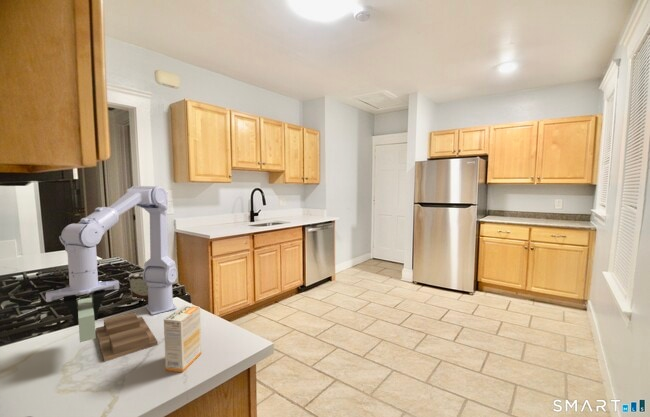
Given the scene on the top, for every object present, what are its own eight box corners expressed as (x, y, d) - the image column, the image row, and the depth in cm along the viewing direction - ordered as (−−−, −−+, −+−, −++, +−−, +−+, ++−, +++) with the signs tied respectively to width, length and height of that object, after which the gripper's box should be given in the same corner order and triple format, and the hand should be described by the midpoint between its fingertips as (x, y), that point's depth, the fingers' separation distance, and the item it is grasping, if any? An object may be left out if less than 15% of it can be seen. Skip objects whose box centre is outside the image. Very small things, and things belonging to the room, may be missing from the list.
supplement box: (185, 351, 80) (184, 304, 79) (202, 353, 79) (201, 306, 78) (164, 370, 72) (162, 318, 70) (182, 373, 71) (181, 320, 70)
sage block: (79, 320, 82) (77, 299, 81) (92, 317, 84) (91, 297, 83) (79, 342, 71) (78, 318, 71) (95, 338, 73) (94, 314, 73)
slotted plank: (95, 331, 89) (95, 321, 89) (141, 319, 98) (141, 310, 97) (104, 361, 75) (103, 350, 74) (157, 344, 83) (157, 334, 83)
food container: (169, 296, 117) (168, 271, 116) (159, 302, 111) (158, 276, 110) (140, 294, 118) (139, 270, 118) (128, 300, 112) (127, 274, 111)
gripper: (43, 279, 68) (47, 336, 70) (119, 268, 78) (121, 318, 79) (45, 272, 74) (49, 324, 75) (116, 262, 83) (118, 309, 84)
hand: (86, 321), depth 77 cm, fingers closed on sage block, 3 cm apart
